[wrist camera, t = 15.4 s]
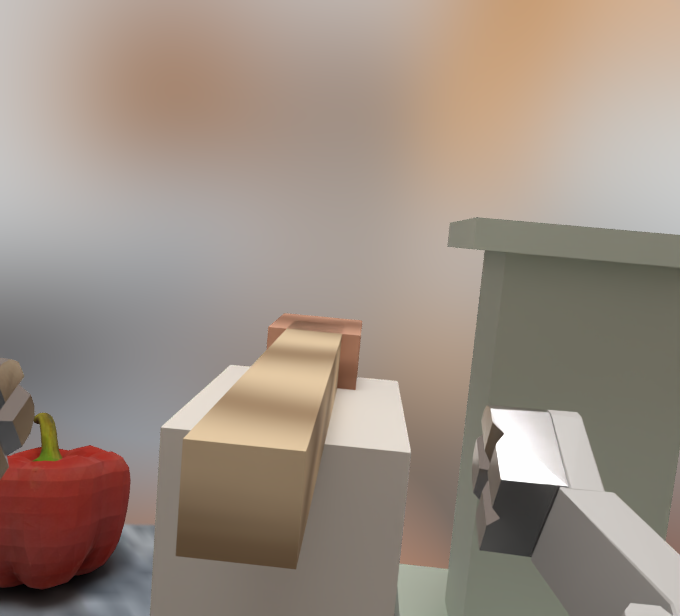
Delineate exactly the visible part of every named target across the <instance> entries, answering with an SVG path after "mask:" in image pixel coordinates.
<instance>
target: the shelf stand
mask: <svg viewBox="0 0 680 616" xmlns="http://www.w3.org/2000/svg"><path fill="white" fill-rule="evenodd" d="M448 247H456V248H466V249H477V250H485V253H484V262H483V272H482V279H481V288H480V297H479V306H478V314H477V323H476V332H475V341H474V350H473V358H472V367H471V376H470V384H469V393H468V402H467V411H466V419H465V428H464V437H463V446H462V454H461V463H460V473H459V481H458V489H457V498H456V499H457V500H456V508H455V516H454V525H453V533H452V543H451V551H450V560H449V568H448V569H442V568H434V567H424V566H415V565H406V564H399V573H398V582H397V592H396V601H395V611H394V615H395V616H570V615H569V614H568V612H567V611H566V610H565V608H564V607H563V605H562V604H561V602H560V601H559V600H558V598H557V597H556V595H555V594H554V592H553V591H552V590H551V588H550V587H549V585H548V584H547V582H546V581H545V580H544V578H543V577H542V575H541V574H540V572H539V571H538V570H537V568H536V567H535V565H534V564H533V562H532V561H531V557H525V556H518V555H510V554H503V553H495V552H488V551H480V550H479V543H478V534H477V525H476V516H475V515H476V511H477V508H478V504H479V501H480V500H479V499H478V498H477V497H476V495H475V494H474V493H473V484H472V462H473V453H474V448H475V443H476V439H477V438H478V437H480V436H481V435H482V434H483V431H482V423H481V420H482V416H483V412H484V409H485V408H486V406H487V405H497V406H509V407H520V408H532V409H543V410H557V411H569V412H578V414H579V415H580V416H581V417H582V420H583V423H584V426H585V429H586V433H587V436H588V439H589V442H590V445H591V449H592V452H593V455H594V458H595V461H596V465H597V468H598V471H599V474H600V478H601V481H602V484H603V487H604V490H605V492H612V493H615V494H616V495H617V496H618V497H619V498H620V499H621V500H622V501H623V502H624V503H626V504H627V505H628V506H629V507H630V508H631V509H632V510H633V511H634V512H635V513H636V514H637V515H638V516H639V517H640V518H641V519H642V520H643V521H644V522H646V523H647V524H648V525H649V526H650V527H651V528H652V529H653V530H654V531H655V532H656V533H657V534H658V535H659V536H660V537H661V538H662V539H663V540H664V541H665V540H666V534H667V528H668V521H669V515H670V508H671V502H672V495H673V488H674V482H675V476H676V470H677V463H678V457H679V450H680V235H673V234H661V233H650V232H637V231H627V230H615V229H603V228H592V227H581V226H569V225H557V224H545V223H535V222H524V221H512V220H501V219H489V218H478V217H477V218H472V219H467V220H462V221H457V222H452V223H450V228H449V237H448Z"/></svg>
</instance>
